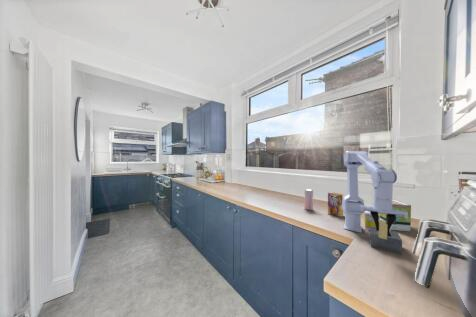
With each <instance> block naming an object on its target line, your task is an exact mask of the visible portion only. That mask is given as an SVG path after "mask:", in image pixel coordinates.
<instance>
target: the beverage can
mask: <svg viewBox="0 0 476 317" xmlns="http://www.w3.org/2000/svg"><path fill="white" fill-rule="evenodd" d="M304 209H305V210H306V211H312V210H313V209H314V190H313V189H309V188H306V189H305V190H304Z"/></svg>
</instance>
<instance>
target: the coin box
mask: <svg viewBox="0 0 476 317" xmlns="http://www.w3.org/2000/svg"><path fill="white" fill-rule="evenodd" d="M369 243H370V246H371V248H375V249H378V250H381V251H385V252H389V253H394V254H399V255H402V254H403V239H402V238H401V236H400V234H399V233H398V230H391V229H390V230H389V233H387V239H382V238H379V236H378V233H377V231H376V227H371V226H370V230H369Z"/></svg>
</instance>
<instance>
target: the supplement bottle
mask: <svg viewBox="0 0 476 317" xmlns="http://www.w3.org/2000/svg"><path fill="white" fill-rule="evenodd" d="M378 215H379V220H380V213H378ZM370 226H371V227H376V225H375V222H374V219H373V217H372V215H371V213H370V212H368V211H364V228H365V230H367V231H370Z"/></svg>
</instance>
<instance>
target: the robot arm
mask: <svg viewBox="0 0 476 317" xmlns="http://www.w3.org/2000/svg"><path fill="white" fill-rule="evenodd" d="M343 165H344V166H345V167H346V175H347V176H346V178H347V182H346V183H347V195H345V196H343V199H342V209H343V213H344V223H343V224H344V225H343V229H344V230H347V231H353V232H357V233H362V231H363V230H362V226H361V223H362V222H361V219H362V216H361V215H363V213H364V214H365V211H368V212H370V213H371V215H372V217H373V219H374V222H375V225H376V231H379V225H378V221H379V215H378V213H381V214H386V223H387V233H389V230H391V229H390V227H391V225H392V224H393V223H394V221H395V220H396V216H400V217H404V218H408V213H407V212H404V211H399V210H394V209H392V199H393V189H394V188H393V186H394V185H393V184H395V183H396V182H397V180H398V175H397V172H396V171H395V170H394V169H391V168H386V167H385V166H383V165H382V164H381V163H379V161H378V160H373V159H371V158H370V157H369V153H368V151H366V150H362V151H361V150H357V151H356V150H355V151H353V150H350V151H349V150H346V151H345V152H344V154H343ZM362 166H364V170H365V171H366V172H367V173H368V174H369V175H370V178H371V181H372V187H373V188H374V189H373V205H365V202H364V201H365V200H364V199H363V198H362V197H360V196H359V178H358V177H359V174H358V172H359V171H358V168H359V167H362Z"/></svg>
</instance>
